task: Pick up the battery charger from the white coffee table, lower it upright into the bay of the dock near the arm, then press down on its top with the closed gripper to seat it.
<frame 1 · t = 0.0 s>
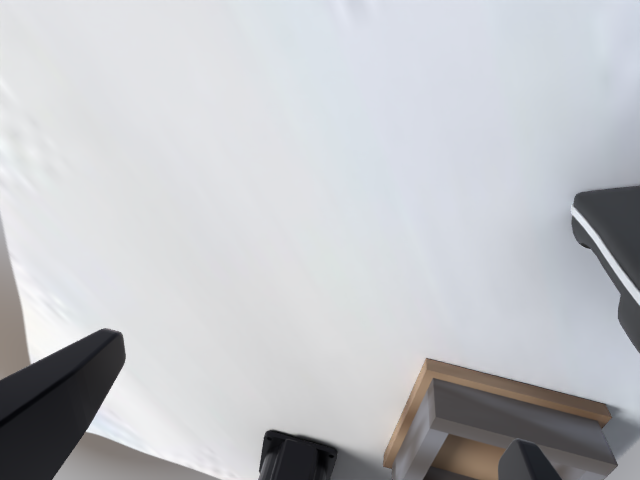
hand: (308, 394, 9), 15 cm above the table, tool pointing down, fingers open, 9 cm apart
dock: (481, 432, 30), on the table
battery charger: (639, 215, 20), on the table
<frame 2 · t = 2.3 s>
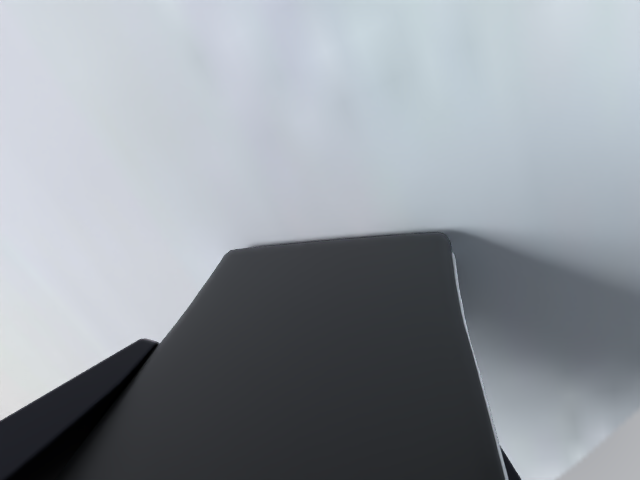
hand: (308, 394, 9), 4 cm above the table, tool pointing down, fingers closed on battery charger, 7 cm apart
battery charger: (342, 283, 13), on the table, touching gripper
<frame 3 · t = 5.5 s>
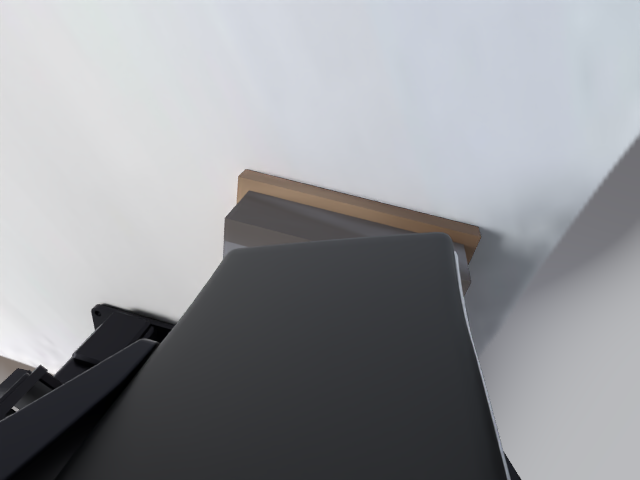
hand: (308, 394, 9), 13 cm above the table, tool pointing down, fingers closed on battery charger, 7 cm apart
dock: (336, 288, 23), on the table
battery charger: (344, 283, 12), point 8 cm above the table, touching gripper
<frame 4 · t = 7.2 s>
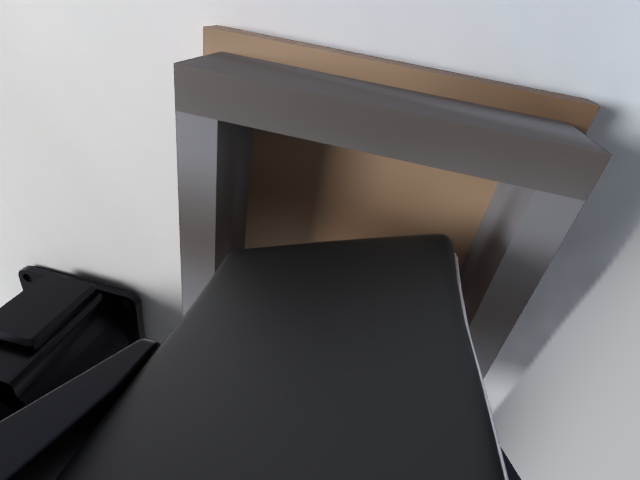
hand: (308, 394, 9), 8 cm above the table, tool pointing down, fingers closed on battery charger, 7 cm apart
dock: (356, 222, 16), on the table
battery charger: (344, 284, 12), point 4 cm above the table, touching gripper
when the fingers open (6 cm above the table, at t = 8.7 s): battery charger stays where it is, resting on dock.
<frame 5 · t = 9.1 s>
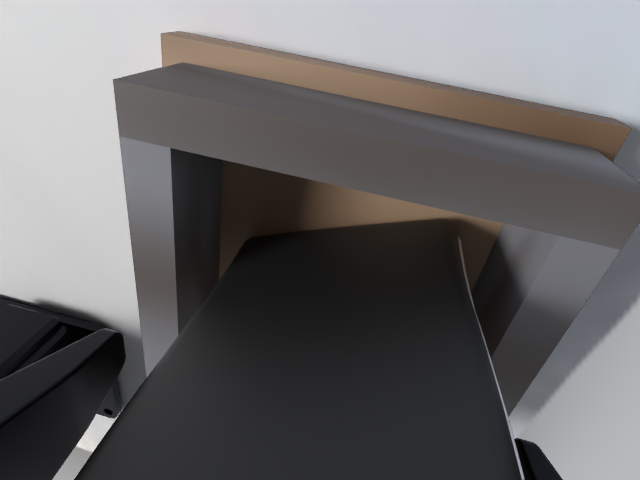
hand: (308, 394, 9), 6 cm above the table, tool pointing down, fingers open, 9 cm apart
dock: (345, 253, 14), on the table
battery charger: (353, 269, 13), point 1 cm above the table, touching dock
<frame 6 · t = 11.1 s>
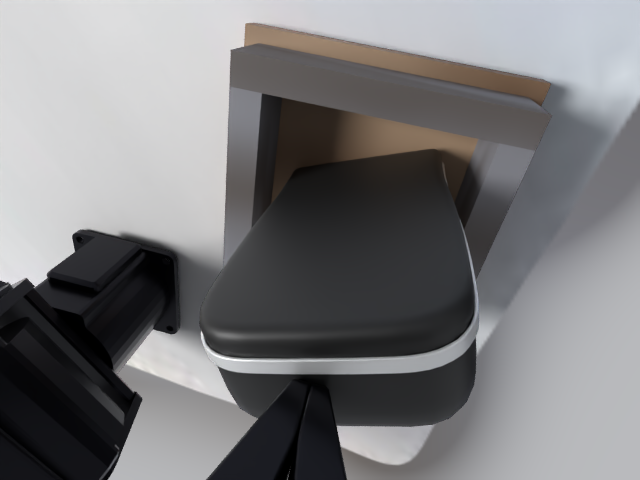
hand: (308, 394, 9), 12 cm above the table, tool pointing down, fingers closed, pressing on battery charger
dock: (362, 184, 19), on the table
battery charger: (370, 192, 19), point 1 cm above the table, touching dock, gripper
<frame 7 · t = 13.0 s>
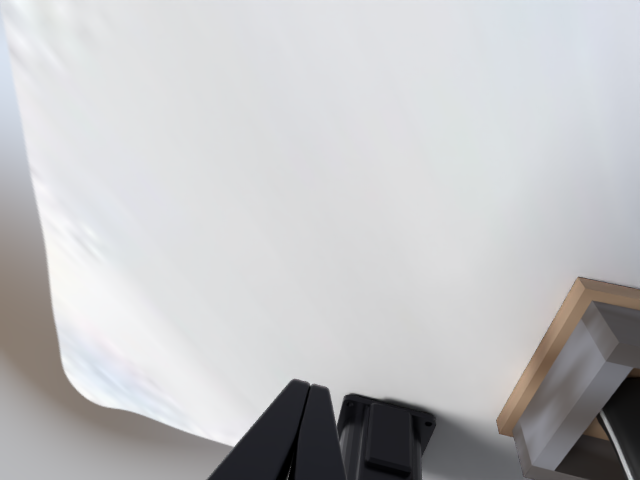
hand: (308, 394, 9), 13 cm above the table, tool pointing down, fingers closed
dock: (637, 382, 23), on the table
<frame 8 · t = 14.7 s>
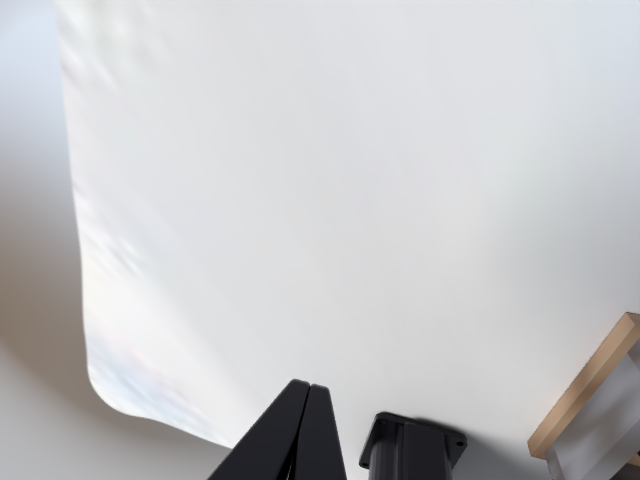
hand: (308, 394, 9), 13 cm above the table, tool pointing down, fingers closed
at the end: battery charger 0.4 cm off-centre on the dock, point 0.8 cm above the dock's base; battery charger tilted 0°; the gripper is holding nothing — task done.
